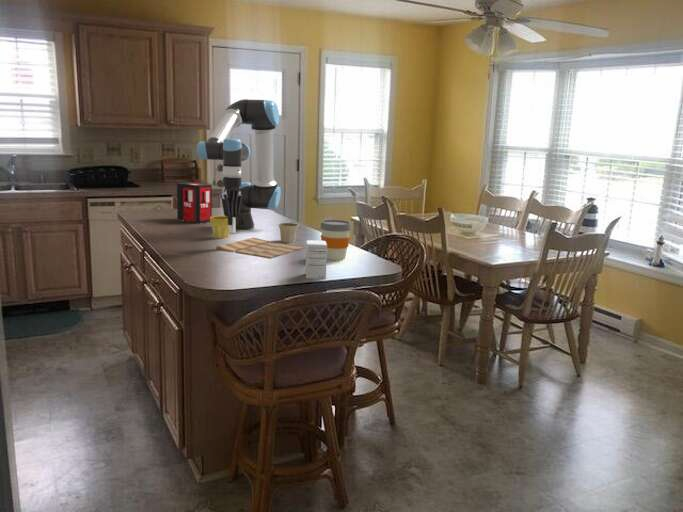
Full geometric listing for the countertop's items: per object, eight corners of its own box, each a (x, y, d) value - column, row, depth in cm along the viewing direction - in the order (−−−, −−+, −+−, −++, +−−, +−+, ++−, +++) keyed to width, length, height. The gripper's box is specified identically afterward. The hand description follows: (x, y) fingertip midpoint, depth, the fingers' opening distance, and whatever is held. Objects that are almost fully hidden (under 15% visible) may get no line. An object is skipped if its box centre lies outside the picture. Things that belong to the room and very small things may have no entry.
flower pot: (301, 242, 275) (302, 223, 274) (293, 245, 267) (293, 226, 265) (283, 240, 278) (283, 222, 276) (274, 243, 270) (274, 224, 268)
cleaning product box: (177, 220, 320) (176, 183, 315) (189, 218, 327) (189, 182, 323) (199, 224, 311) (199, 186, 307) (211, 222, 319) (211, 185, 314)
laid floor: (269, 244, 268) (269, 241, 267) (304, 249, 259) (304, 246, 259) (234, 253, 245) (234, 251, 245) (271, 260, 237) (271, 257, 237)
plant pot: (237, 238, 277) (237, 218, 275) (218, 241, 269) (218, 219, 267) (223, 235, 284) (223, 215, 282) (205, 237, 276) (205, 216, 274)
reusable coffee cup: (339, 262, 238) (340, 225, 234) (313, 258, 244) (314, 222, 241) (355, 257, 248) (356, 222, 245) (330, 253, 254) (331, 218, 251)
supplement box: (305, 273, 218) (306, 239, 216) (325, 273, 219) (326, 240, 216) (305, 278, 211) (306, 243, 208) (326, 279, 212) (327, 244, 209)
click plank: (253, 240, 272) (253, 237, 271) (269, 243, 268) (269, 241, 268) (216, 249, 249) (216, 246, 249) (233, 253, 245) (233, 250, 245)
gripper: (229, 178, 239) (229, 235, 244) (248, 176, 250) (248, 231, 255) (214, 176, 242) (214, 233, 247) (234, 175, 254) (234, 229, 258)
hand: (231, 232), depth 251 cm, fingers closed
